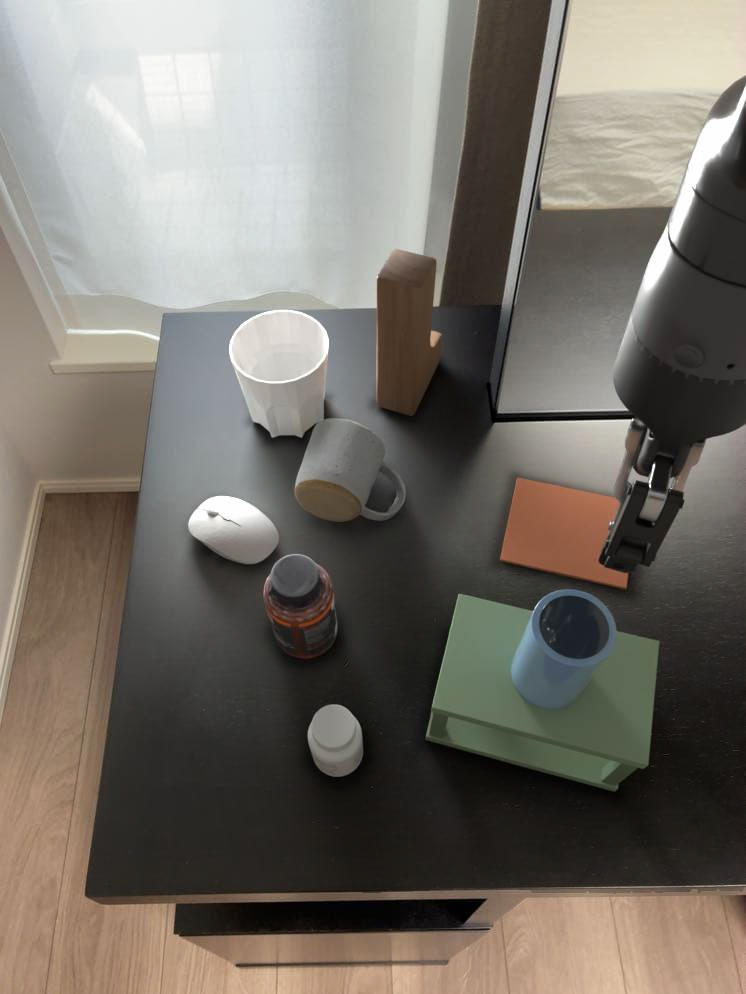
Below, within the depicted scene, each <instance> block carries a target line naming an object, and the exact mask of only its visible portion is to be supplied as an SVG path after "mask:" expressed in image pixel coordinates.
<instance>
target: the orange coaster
mask: <svg viewBox="0 0 746 994" xmlns="http://www.w3.org/2000/svg"><path fill="white" fill-rule="evenodd" d="M515 481H516V482H515V487H514V491H513V496H512V501H511V505H510V510H509V514H508V520H507V525H506V528H505V534H504V539H503V543H502V548H501V553H500V556H499V562H502V563H506V564H511V565H515V566H520V567H524V568H529V569H533V570H537V571H541V572H545V573H549V574H550V573H551V574H555V575H559V576H563V577H568V578H572V579H577V580H582V581H584V582H585V581H586V582H589V583H595V584H599V585H604V586H608V587H612V588H616V589H621V590H624V591H625V590H627V588H628V580H629V572H628V573H623V572H620V571H616V570H612V569H609V568H605V567H604V565H602V564H600V563H599V561H598V560H599V556H600V552H601V549H602V547H603V545H604V542H605V540H606V538H607V535H608V533H609V530H608V526H609V523H610V521H611V522H612V521H613V518H614V515H615V512H616V509H617V506H618V503H619V500H618V499H616V497H615V496H614V497H613V496H608V495H603V494H599V493H594V492H587V491H584V490H579V489H574V488H569V487H565V486H561V485H555V484H549V483H545V482H541V481H536V480H531V479H527V478H521V477H517V478H516V480H515Z"/></svg>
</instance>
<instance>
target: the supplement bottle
mask: <svg viewBox="0 0 746 994" xmlns="http://www.w3.org/2000/svg"><path fill="white" fill-rule="evenodd" d="M330 577H331V576H329V574H328V571H326V570H325V569H324V568H323V567H322V566H321V565H319V564H318V563H316V562H315V561H314V560H313V559H312V558H310V557H308V556H306V555H305V554H299V553H294V554H287V555H285V556H283V557H281V558H279V560H277V561H276V562H275V563H274V564H273V567H272V568H271V571H270V574H269V575H268V577H267V578H266V580H265V582H264V588H263V601H264V605H265V609H266V612H267V615H268V619H269V622H270V625H271V628H272V631H273V634H274V637H275V639H276V642H277V644H278V646H279V647H280V648H281V649H282V650H283V651H284V652H285V653H286V654H287V655H289V656H291V657H293V658H296V659H297V658H298V659H313V658H316V657H319V656H321V655H322V654H324V653H326V652H327V651H328V650H329V649H330V648H331V647H332V646H333V644H334V642H335V640H336V638H337V634H338V618H337V609H336V601H335V594H334V593H335V592H334V587H333V582H332V580H331V578H330Z"/></svg>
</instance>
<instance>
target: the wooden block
mask: <svg viewBox="0 0 746 994" xmlns="http://www.w3.org/2000/svg"><path fill="white" fill-rule="evenodd" d="M437 263H438V261H437V258H435V257H433V256H427V255H423V254H420V253H415V252H412V251H408V250H403V249H401V248H392V250H391V251H390V253H389V255H388V256H387V258H386V260H385V262H384V264H383V265H382V267H381V269H380V271H379V272H378V274H377V276H376V376H375V377H376V405H377V406H378V407H380V408H383V409H387V410H389V411H394V412H397V413H399V414H403V415H406V416H410V417H411V416H414V415H415V414H416V412H417V410H418V407H419V406H420V403H421V401H422V399H423V396H424V395H425V392H426V391H427V389H428V386H429V384H430V382H431V380H432V377H433V376H434V375H435V372H436V370H437V367H438V365H439V364H440V359H441V350H442V341H443V335H442V333H440V332H438V331H435V330H432V324H433V313H434V301H435V300H434V299H435V290H436V289H435V288H436V278H437V277H436V275H437V265H438V264H437Z"/></svg>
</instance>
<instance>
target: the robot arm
mask: <svg viewBox="0 0 746 994" xmlns="http://www.w3.org/2000/svg"><path fill="white" fill-rule="evenodd" d="M632 307H633V308H632V310H631V313H630V315H629V319H628V322H627V325H626V328H625V332H624V335H623V337H622V341H621V344H620V347H619V350H618V353H617V355H616V359H615V362H614V364H613V369H612V370H613V371H612V380H613V386H614V390H615V393H616V394H617V397H618V398H619V400H620V402H621V403H622V405H623V406H624V407H625V408H626V410H627V411H628V412H629V413H631V414H632V415H633V416H634V417H632V419H631V421H630V423H629V426H628V429H627V432H626V435H625V439H624V448H625V450H624V455H623V459H622V463H621V465H620V468H619V471H618V474H617V477H616V480H615V483H614V487H613V489H614V490H613V494H614V498H616V499H618V500H619V503H618V506H617V509H616V512H615V515H614V518H613V521H612V522H611V521H610V523H609V526H608V530H609V533H608V535H607V538H606V540H605V542H604V545H603V547H602V549H601V552H600V556H599V560H598V561H599V563H600V564H602V565H604V567H605V568H609V569H612V570H616V571H620V572H623V573H628V574H629V573H632V572H634V571H635V570H636V567H637V566H638V565H640V566H644V567H648V568H649V567H651V565H652V564H653V562H655V560H656V557H657V553H658V552H659V550H660V548H661V546H662V544H663V542H664V540H665V539H666V536H667V535H668V533H669V531H670V529H671V527H672V525H673V523H674V522H675V519H676V518H677V515H678V513H679V511H680V510H682V509H683V507H684V504H685V499H684V496H685V492H684V490H685V486H686V483H687V480H688V478H689V476H690V475H689V474H690V472H691V470H692V468H694V467H695V466H697V464H698V463H700V462H699V461H700V459H701V456H702V454H703V452H704V449H705V446H706V442H707V440H708V439H711V438H716V437H719V436H720V437H721V436H724V435H727V434H730V433H732V432H735V431H737V430H739V429H741V428H742V427H744V426H746V74H745V75H743V76H742V77H740V78H738V79H737V80H736V81H734V82H733V83H731V85H729V86H728V87H727V88H726V89H725V90H724V91H723V92H722V93H721V94H720V95H719V97H718V98H717V99H716V101H715V103H714V104H713V105H712V107H711V108H710V109H709V112H708V113H707V115H706V117H705V119H704V121H703V124H702V125H701V128H700V129H699V132H698V134H697V138H696V140H695V142H694V145H693V147H692V150H691V152H690V155H689V158H688V161H687V165H686V167H685V170H684V173H683V176H682V179H681V182H680V185H679V188H678V191H677V193H676V197H675V199H674V203H673V206H672V209H671V212H670V214H669V218H668V220H667V223H666V226H665V228H664V230H663V232H662V234H661V235H660V238H659V239H658V242H657V243H656V245H655V248H654V249H653V251H652V254H651V256H650V258H649V260H648V263H647V266H646V268H645V270H644V273H643V276H642V280H641V283H640V286H639V288H638V292H637V295H636V298H635V301H634V304H633V306H632ZM632 470H634V472H635V474H637V475H639V476H641V477H645V478H647V479H646V481H641V480H638V479H634V480H633V482H632V483H630V482H629V478H630V475H631V472H632ZM671 479H672V481H671ZM670 481H671V485H670Z"/></svg>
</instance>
